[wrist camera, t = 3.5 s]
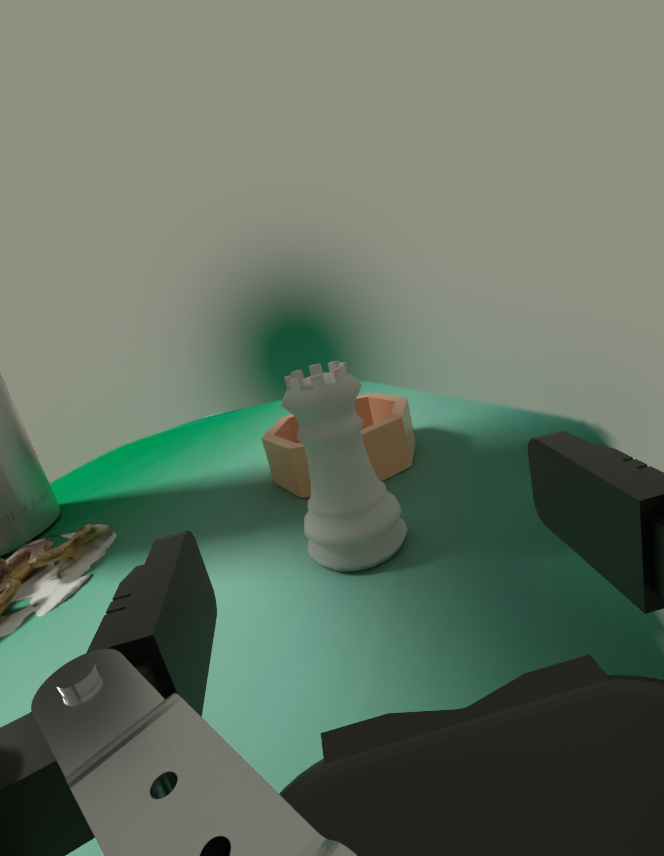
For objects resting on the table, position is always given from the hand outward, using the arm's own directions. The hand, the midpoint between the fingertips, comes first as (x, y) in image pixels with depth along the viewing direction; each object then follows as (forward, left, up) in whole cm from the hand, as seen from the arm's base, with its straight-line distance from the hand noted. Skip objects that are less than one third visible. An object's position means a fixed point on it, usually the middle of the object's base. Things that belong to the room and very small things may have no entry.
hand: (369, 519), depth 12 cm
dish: (-6, +18, -6) cm, 20 cm away
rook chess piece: (-3, +9, -6) cm, 11 cm away
